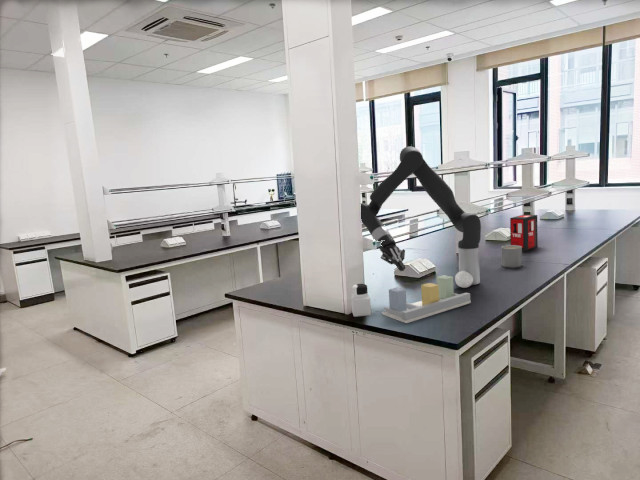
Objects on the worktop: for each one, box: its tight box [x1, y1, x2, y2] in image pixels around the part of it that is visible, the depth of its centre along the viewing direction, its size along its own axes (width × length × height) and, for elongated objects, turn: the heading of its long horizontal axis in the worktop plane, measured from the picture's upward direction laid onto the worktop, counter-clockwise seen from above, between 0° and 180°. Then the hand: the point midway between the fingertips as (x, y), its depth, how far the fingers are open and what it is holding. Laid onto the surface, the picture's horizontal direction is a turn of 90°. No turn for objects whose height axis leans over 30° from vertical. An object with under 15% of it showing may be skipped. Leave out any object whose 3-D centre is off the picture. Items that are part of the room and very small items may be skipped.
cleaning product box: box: [509, 214, 538, 252], centre depth 281 cm, size 16×9×20 cm, turn 130°
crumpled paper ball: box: [454, 271, 473, 289], centre depth 209 cm, size 8×8×8 cm
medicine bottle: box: [350, 283, 372, 318], centre depth 184 cm, size 7×7×12 cm
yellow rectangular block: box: [420, 282, 439, 306], centre depth 181 cm, size 5×4×9 cm
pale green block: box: [436, 274, 455, 299], centre depth 191 cm, size 5×4×9 cm
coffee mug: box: [501, 244, 523, 268], centre depth 243 cm, size 13×10×10 cm
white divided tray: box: [381, 292, 472, 324], centre depth 184 cm, size 14×35×4 cm, turn 121°
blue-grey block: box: [388, 286, 408, 312], centre depth 179 cm, size 5×4×9 cm
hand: (403, 269), depth 193 cm, fingers closed
